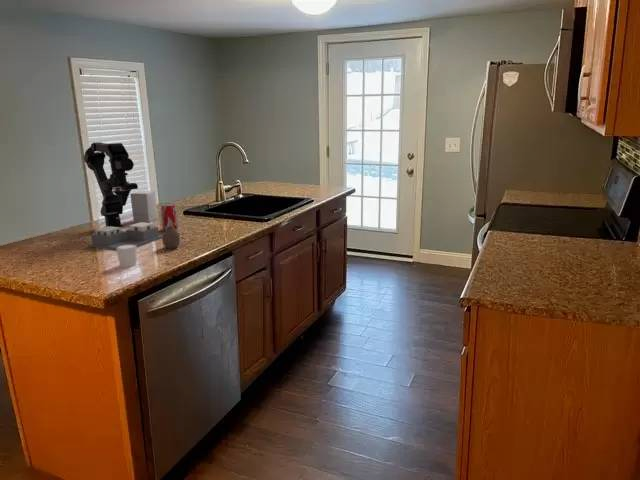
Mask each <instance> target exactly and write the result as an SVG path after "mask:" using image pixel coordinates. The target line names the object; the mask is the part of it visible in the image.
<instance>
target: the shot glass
mask: <svg viewBox="0 0 640 480" xmlns="http://www.w3.org/2000/svg"><path fill="white" fill-rule="evenodd" d="M116 249H117V250H116V253H117V257H118V261H119V266H120V268H132V267H135V266H137V261H138V260H137V247H136V245H121V246H118V247H117V248H116Z"/></svg>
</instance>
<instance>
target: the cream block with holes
mask: <svg viewBox="0 0 640 480" xmlns="http://www.w3.org/2000/svg"><path fill="white" fill-rule="evenodd" d="M128 227H129V229H130V230H134V231H146V230H149V229H152V228H154V227H155V225H154V222H150V223H145V222H140V223H138V222H135V223H133V224H131V225H130V224H129V226H128Z"/></svg>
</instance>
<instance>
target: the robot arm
mask: <svg viewBox="0 0 640 480" xmlns="http://www.w3.org/2000/svg"><path fill="white" fill-rule="evenodd" d="M106 156H107V157H108V158H109V159H108V162H109V163H110V169H111V170H110V171H111V174H109V177H108V175H107V173H106V170H105V169H104V166H105V163H106V162H105V159H106ZM83 160H84V162H85V164H86V166H87V168H88V169H90V170H91V171H92V172H93V174H94V176H95V179H96V181H97V184H98V187H99V190H100V192H101V195H102V202H101V205H102V206H101V209H100V214H101V215H100V216H101V217H104V221H105V226H104V227H107V226H111V227H121V228H122V227H124V225H123V224H122V223H121V222H122V221H121V218H120V215H123V212H124V210H123V209H124V206H126V205H127V201H128V198H129V196H130V193H131V192H132V190H138V189H139V187H138V185H139V184H138V183H137V182H130V181H129V182H128V180H127V176H129V174H128V172H130V171H132V170H133V169H134V166H135V164H134V161H133V160H132V159H131V158H130V156H129V152H128V151H127V150H126V148H125V146H124V145H123V143H121V142H117V143H115V142H114V143H106V142H105V143H104V142H92V143H91V144H90V146H89V148H87V149H86V150H85V151H84V155H83Z"/></svg>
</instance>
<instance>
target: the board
mask: <svg viewBox="0 0 640 480" xmlns="http://www.w3.org/2000/svg"><path fill="white" fill-rule="evenodd" d="M90 236H91V242H90V243H88V244H87V247H88V246H89V247H88V248H95V247H97V248H98V249H103V248H104V250H111V251H112V250H113V251H117V249H116V248H117V247H118V246H121V245H136V248H139V247H141V246H144V245H147V244H150V243H152V242H155V241H157V240H160V239H161V240H162V237H163V234H159V227H158V226H154V228H152V229H149V230H146V231H134V230H130V228H128V229H126V230H121V232H120V233H116V234H113V235H110V236H105V235H96V232H95V233H93V234H91V235H90ZM97 248H96V249H97Z"/></svg>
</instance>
